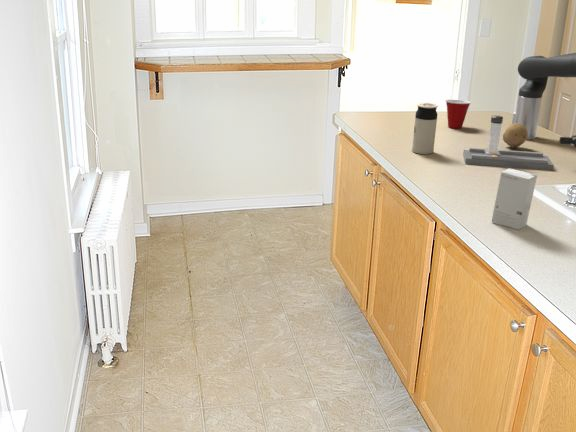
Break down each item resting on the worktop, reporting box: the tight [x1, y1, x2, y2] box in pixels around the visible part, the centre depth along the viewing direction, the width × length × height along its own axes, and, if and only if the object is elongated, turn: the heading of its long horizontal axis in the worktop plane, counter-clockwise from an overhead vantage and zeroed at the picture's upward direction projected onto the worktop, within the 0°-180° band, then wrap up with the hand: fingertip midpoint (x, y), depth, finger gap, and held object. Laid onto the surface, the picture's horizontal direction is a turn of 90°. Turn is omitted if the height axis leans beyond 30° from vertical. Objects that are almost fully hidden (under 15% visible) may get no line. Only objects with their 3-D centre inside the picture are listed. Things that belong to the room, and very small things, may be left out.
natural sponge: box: [502, 123, 528, 149], centre depth 258 cm, size 9×9×10 cm
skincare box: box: [491, 167, 538, 230], centre depth 181 cm, size 8×6×15 cm
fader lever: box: [483, 115, 504, 156], centre depth 238 cm, size 5×6×14 cm
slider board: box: [462, 147, 554, 171], centre depth 240 cm, size 30×12×3 cm, turn 80°
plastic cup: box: [444, 99, 472, 130], centre depth 288 cm, size 11×11×12 cm
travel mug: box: [411, 102, 439, 155], centre depth 248 cm, size 8×8×18 cm
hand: (559, 140), depth 235 cm, fingers closed
